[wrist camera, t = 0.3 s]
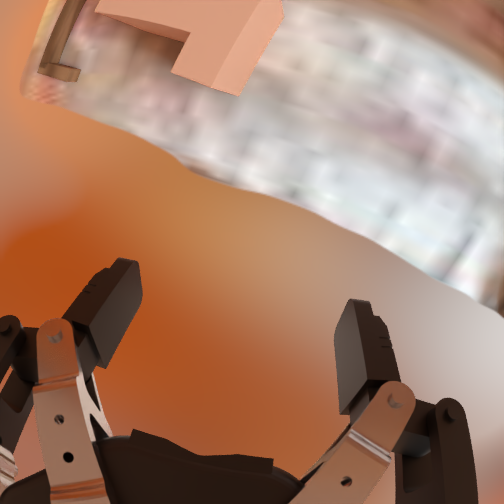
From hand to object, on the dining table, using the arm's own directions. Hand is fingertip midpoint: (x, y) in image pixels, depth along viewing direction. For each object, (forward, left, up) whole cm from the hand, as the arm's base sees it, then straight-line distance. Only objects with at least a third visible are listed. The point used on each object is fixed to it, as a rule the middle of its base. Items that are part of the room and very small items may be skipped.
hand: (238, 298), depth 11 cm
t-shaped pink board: (-16, -13, -27) cm, 34 cm away
